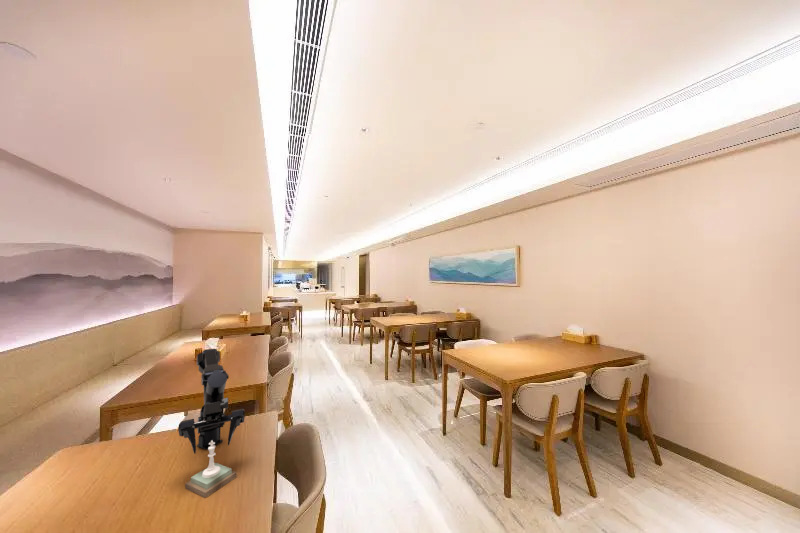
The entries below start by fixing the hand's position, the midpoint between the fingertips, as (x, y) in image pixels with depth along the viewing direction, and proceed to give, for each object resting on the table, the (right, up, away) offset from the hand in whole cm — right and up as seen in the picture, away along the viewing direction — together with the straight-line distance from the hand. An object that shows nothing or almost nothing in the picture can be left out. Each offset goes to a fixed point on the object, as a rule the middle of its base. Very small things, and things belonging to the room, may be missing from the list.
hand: (212, 448), depth 94 cm
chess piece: (0, -8, 0) cm, 8 cm away
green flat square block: (0, -10, -1) cm, 10 cm away
